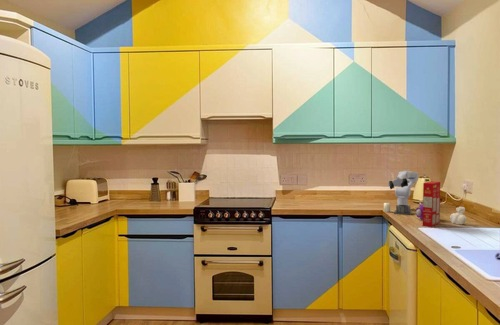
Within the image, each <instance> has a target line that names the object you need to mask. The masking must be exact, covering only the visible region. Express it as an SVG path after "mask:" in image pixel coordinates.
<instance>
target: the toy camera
mask: <svg viewBox="0 0 500 325" xmlns="http://www.w3.org/2000/svg"><path fill="white" fill-rule="evenodd" d="M418 206H419V207H416V209H415V216H416V217H417V218H419V219H421V220H423V203H421V204H419V205H418Z"/></svg>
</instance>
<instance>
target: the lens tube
mask: <svg viewBox="0 0 500 325" xmlns="http://www.w3.org/2000/svg"><path fill="white" fill-rule="evenodd" d="M395 207H396V209H395V210H394V212H393V215H403V216H404V215H406V216H411V215H412V214H413V210H411V205H409V204H408V205H396V206H395Z"/></svg>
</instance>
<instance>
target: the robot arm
mask: <svg viewBox="0 0 500 325" xmlns="http://www.w3.org/2000/svg"><path fill="white" fill-rule="evenodd" d="M395 178H396V179H395ZM395 178H394V180H389V181H388V183H387V186H388V187H389V189H390V190H392V189H395V190H394V195H395V197H396V199H397V200H396V202H397V205H409V198H410V196H411V194H412V192H411V191H412V190H411V189H412V187H413V186H414V184H416V183H417V182H418V181H419V172H418V171H411V170H410V171H409V170H407V169H404V170H403V171H399V172H398V174H397V177H395ZM395 187H396V188H395Z"/></svg>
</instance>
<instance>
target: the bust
mask: <svg viewBox="0 0 500 325" xmlns="http://www.w3.org/2000/svg"><path fill="white" fill-rule="evenodd" d="M455 211H456V212H455V213H451V214H450V216H449V221H450V222H451V223H452V224H456V225H463V224H465V223H466V221H467V217H466V215H465V214H464V213H465V212H466V208H465V207H464V206H459V207H458V206H457V207H456V209H455Z"/></svg>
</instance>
